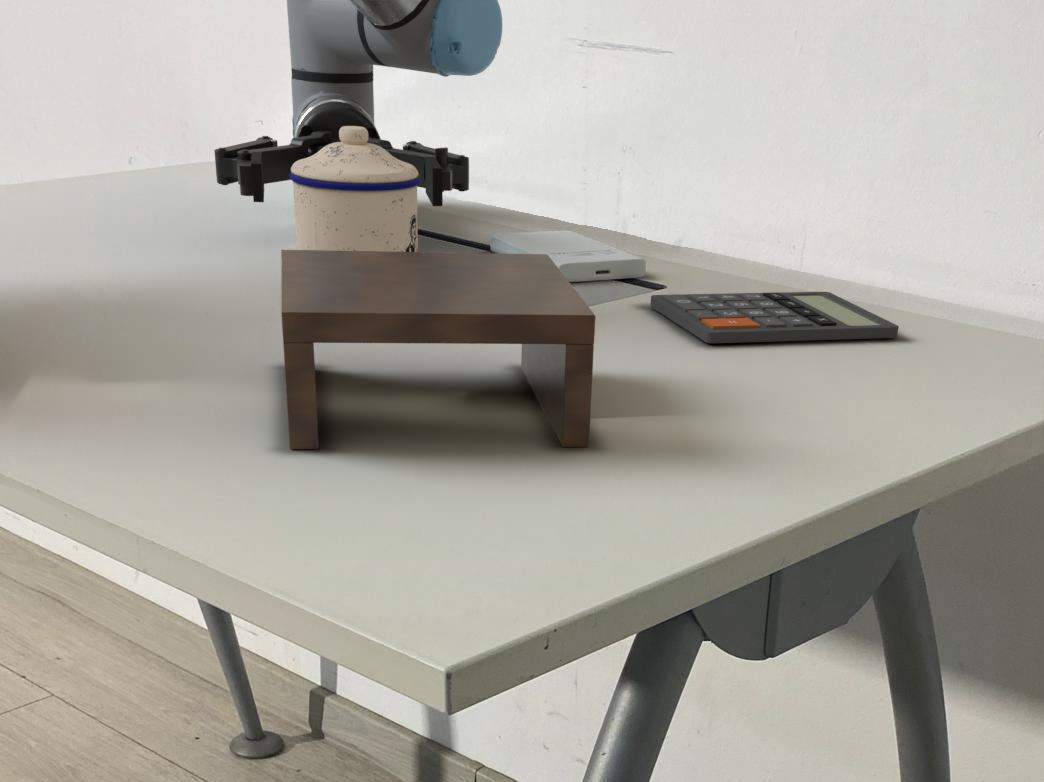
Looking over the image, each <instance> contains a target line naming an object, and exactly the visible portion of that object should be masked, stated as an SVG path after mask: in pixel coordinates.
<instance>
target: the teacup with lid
mask: <svg viewBox="0 0 1044 782" xmlns="http://www.w3.org/2000/svg"><path fill="white" fill-rule="evenodd" d="M339 138H340V140H341V142H335V143H331V144H329V145H327V146H325V147H323V148H322V149H321V150H320V151H318V152H317V153H316V154H314V155H312V156H310V157H308V158H304V159H301V160H298V161H296V162H295V163H294V164H293V165H292V167H291V172H290V174H289V178H290V179H291V180H290V181H292V187H293V204H294V207H293V208H294V220H295V223H294V224H295V239H296V240H295V242H296V243H295V244H296V250H327V251H384V252H419V234H418V233H419V231H418V229H419V227H418V226H419V225H418V222H419V221H418V220H419V219H418V187H417V185H418V184H419V183H420V177H419V176H418V171H417V169H416V168H415V167H414V166H413V165H411V164H409V163H406V162H403V161H401V160H398V159H397V158H395V157H393V156H392V155H391V154H389V153H388V152H387V151H386V150H385V149H383V148H382V147H380V146H378V145H375V144H371V143H367V141H368V131H367V129H366V128H364V127H360V126H343V127H341V129H340V130H339Z"/></svg>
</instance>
